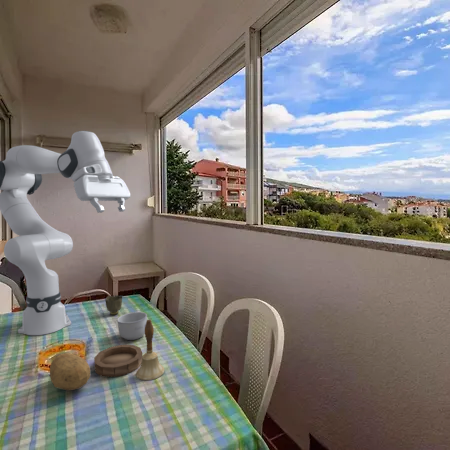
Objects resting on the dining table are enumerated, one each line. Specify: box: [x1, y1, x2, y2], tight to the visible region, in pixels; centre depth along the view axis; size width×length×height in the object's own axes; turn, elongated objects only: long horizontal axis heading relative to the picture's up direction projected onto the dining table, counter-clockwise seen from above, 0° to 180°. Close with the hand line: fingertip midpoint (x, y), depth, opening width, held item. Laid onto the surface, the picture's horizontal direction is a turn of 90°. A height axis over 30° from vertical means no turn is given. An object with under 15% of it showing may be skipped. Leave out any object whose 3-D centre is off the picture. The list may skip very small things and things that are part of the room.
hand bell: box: [135, 319, 165, 381], centre depth 89 cm, size 8×8×16 cm
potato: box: [49, 352, 91, 391], centre depth 83 cm, size 10×14×8 cm
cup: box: [104, 294, 123, 316], centre depth 138 cm, size 8×7×8 cm
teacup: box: [116, 310, 148, 341], centre depth 116 cm, size 14×11×8 cm
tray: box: [93, 344, 143, 378], centre depth 94 cm, size 14×14×3 cm
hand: (112, 211), depth 101 cm, fingers open, 8 cm apart
